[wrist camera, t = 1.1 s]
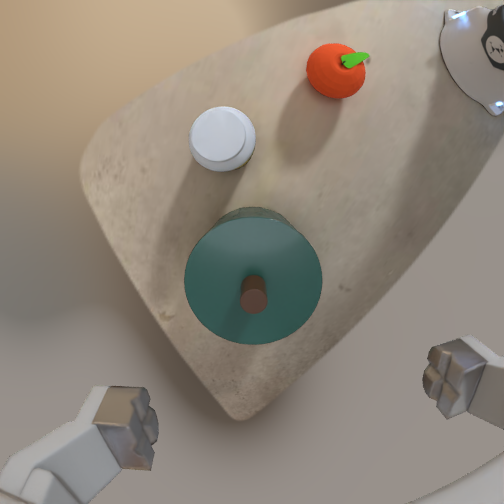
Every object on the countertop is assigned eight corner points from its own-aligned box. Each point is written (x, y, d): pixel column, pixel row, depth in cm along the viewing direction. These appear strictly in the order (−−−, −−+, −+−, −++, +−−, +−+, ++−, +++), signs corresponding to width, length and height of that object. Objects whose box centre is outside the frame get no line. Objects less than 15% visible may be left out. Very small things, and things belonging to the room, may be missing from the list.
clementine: (342, 44, 32) (359, 24, 25) (370, 88, 33) (393, 75, 26) (291, 66, 33) (299, 47, 26) (320, 112, 34) (335, 101, 28)
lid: (288, 191, 28) (295, 196, 24) (337, 308, 32) (349, 330, 27) (162, 250, 30) (148, 265, 25) (224, 355, 33) (221, 381, 29)
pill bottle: (248, 175, 37) (246, 180, 25) (196, 164, 36) (173, 165, 25) (260, 124, 35) (264, 107, 24) (208, 114, 34) (190, 93, 23)
